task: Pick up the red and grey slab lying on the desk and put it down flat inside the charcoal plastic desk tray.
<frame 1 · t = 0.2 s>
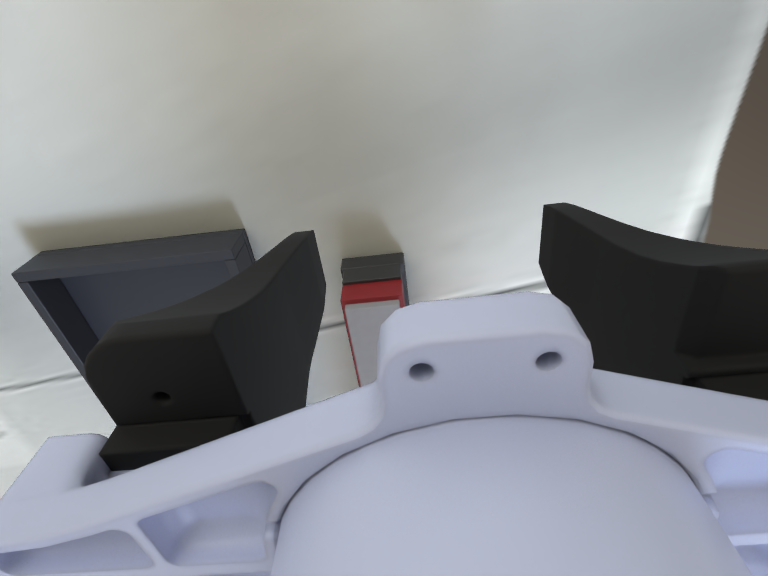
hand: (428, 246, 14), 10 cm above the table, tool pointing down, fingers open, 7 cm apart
tray: (197, 357, 30), on the table
red and grey slab: (385, 340, 29), on the table
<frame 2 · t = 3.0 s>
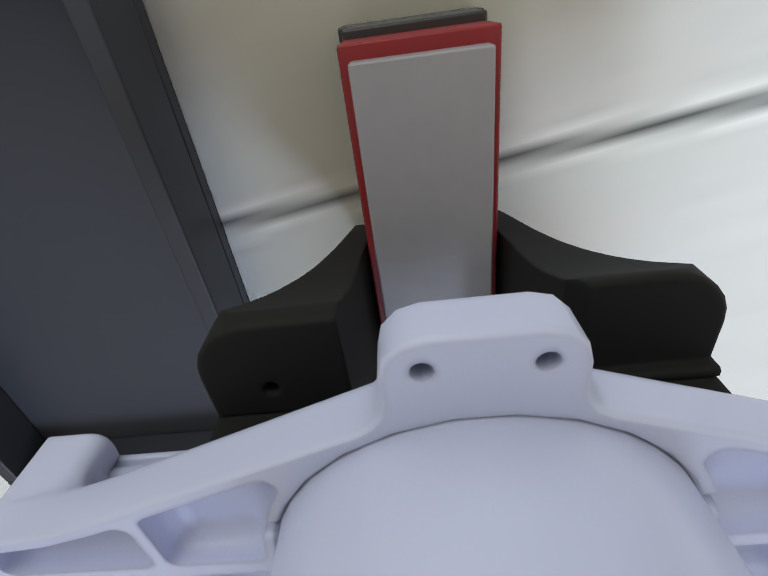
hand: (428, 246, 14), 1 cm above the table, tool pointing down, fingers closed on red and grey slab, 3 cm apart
tray: (73, 273, 16), on the table
red and grey slab: (425, 235, 15), on the table, touching gripper
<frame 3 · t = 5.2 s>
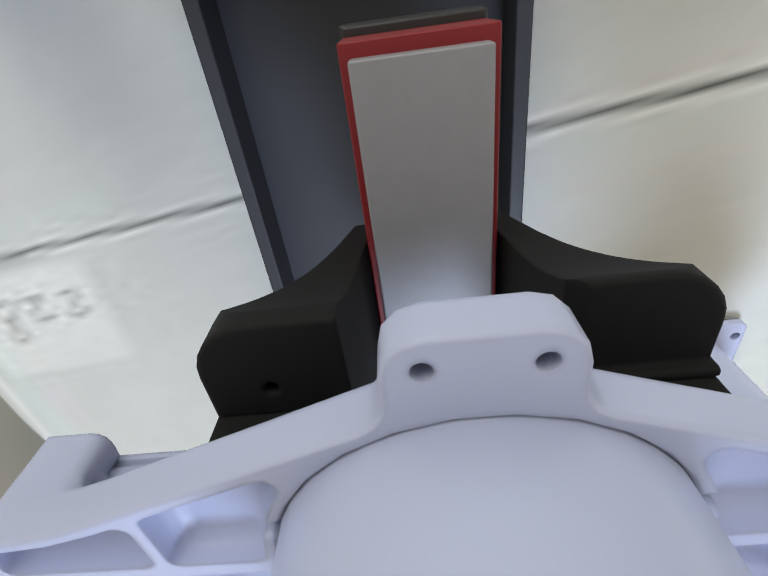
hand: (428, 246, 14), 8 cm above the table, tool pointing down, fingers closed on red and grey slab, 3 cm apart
tray: (382, 174, 21), on the table
red and grey slab: (424, 234, 15), point 7 cm above the table, touching gripper
when the fingers open (2 cm above the table, at t = 7.5 s): red and grey slab stays where it is, resting on tray.
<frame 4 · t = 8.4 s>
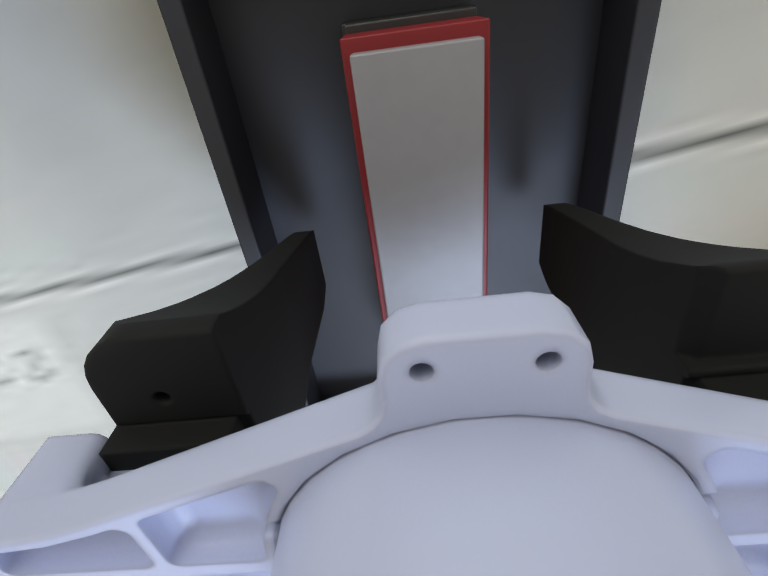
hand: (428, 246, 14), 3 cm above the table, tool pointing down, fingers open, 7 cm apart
tray: (422, 217, 16), on the table
red and grey slab: (422, 221, 16), resting on tray
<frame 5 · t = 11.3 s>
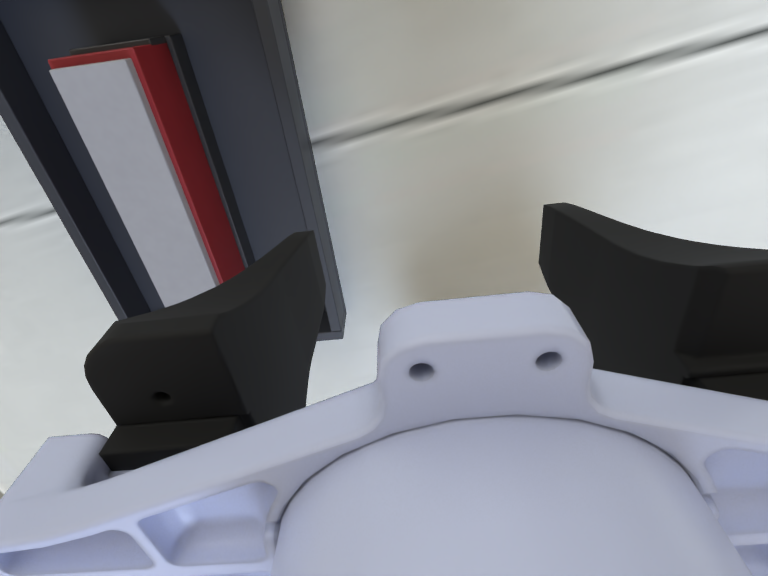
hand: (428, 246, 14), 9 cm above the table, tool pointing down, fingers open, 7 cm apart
tray: (200, 183, 22), on the table
red and grey slab: (195, 185, 22), resting on tray
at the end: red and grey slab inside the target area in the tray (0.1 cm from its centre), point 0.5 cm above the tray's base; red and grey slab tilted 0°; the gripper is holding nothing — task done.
